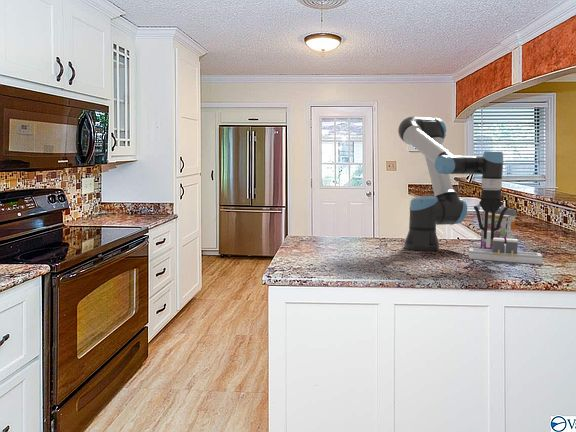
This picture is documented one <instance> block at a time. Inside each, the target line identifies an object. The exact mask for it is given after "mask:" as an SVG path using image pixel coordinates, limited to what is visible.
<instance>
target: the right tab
mask: <svg viewBox="0 0 576 432" xmlns="http://www.w3.org/2000/svg"><path fill="white" fill-rule="evenodd" d="M518 244H519V240H518V238H511V239H508V238H506V253H511V251H513V254H517V251H518Z"/></svg>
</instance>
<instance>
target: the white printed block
mask: <svg viewBox="0 0 576 432" xmlns="http://www.w3.org/2000/svg"><path fill="white" fill-rule="evenodd" d="M489 213H490V214H492V212H489ZM500 213H501V208H499V209H498V210H497V211H496V212H495V214H500ZM504 215H510V216H512V219H511V231H510V239H512V235H513V230H514V229H515V225H516V216H517V210H516V209H511V208H507V210H506V212H505V213H504Z"/></svg>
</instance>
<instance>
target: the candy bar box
mask: <svg viewBox="0 0 576 432" xmlns="http://www.w3.org/2000/svg"><path fill="white" fill-rule="evenodd" d="M491 215H492V214H490V212H488V227H487V231H491ZM499 216H500V214H495V224H494V227H496V225H497V222H498V219H499ZM511 219H512V216H510V215H503V219H502V222H501V225H500V228H499V230H496V231H494V238H504V240H505V241H504V244H506V238H508V239H510V231H511ZM484 220H485V213H482V219H481V222H482V226H483V227H484ZM480 236H481V238H480V248H479V249H490V250H492V248H493V239H491V240H490V248H488V247H486V239H484V231H483V230H481V235H480Z"/></svg>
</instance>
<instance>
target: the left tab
mask: <svg viewBox="0 0 576 432" xmlns="http://www.w3.org/2000/svg"><path fill="white" fill-rule="evenodd" d="M504 241H505V240H504V238H493V248H492V252H498V250H500V253H504Z"/></svg>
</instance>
